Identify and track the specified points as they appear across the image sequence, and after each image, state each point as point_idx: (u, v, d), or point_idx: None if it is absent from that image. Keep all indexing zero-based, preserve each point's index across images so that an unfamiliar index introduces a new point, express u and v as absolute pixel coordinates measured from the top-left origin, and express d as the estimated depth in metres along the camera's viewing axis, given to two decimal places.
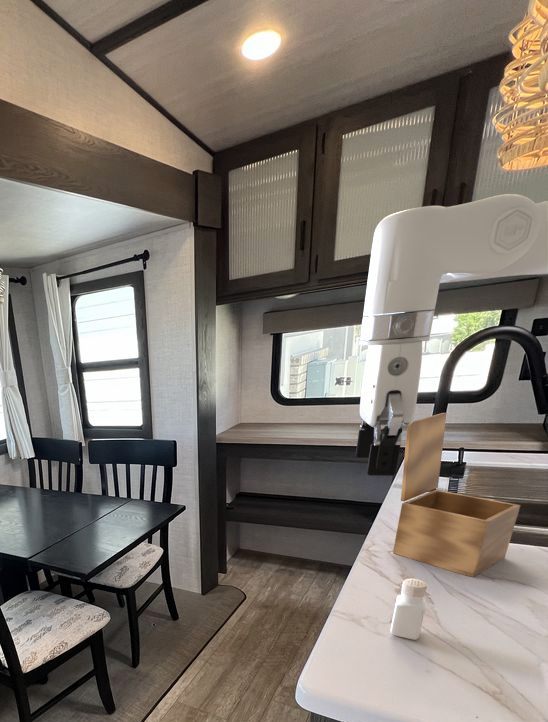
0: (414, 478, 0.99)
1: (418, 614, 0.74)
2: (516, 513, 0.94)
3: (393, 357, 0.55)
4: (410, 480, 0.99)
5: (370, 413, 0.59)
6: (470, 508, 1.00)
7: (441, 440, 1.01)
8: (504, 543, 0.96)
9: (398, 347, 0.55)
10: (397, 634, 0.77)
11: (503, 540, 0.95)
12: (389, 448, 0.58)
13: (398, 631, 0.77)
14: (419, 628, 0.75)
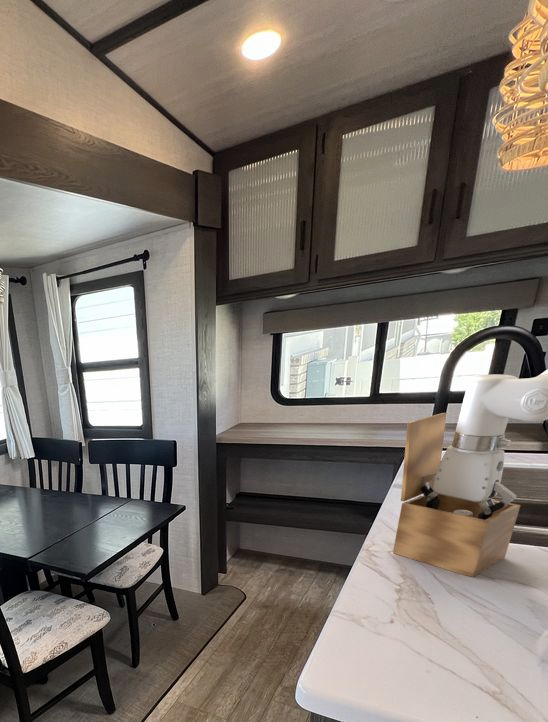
0: (414, 478, 0.99)
1: None
2: (516, 513, 0.94)
3: (498, 461, 0.89)
4: (410, 480, 0.99)
5: (482, 494, 0.91)
6: (470, 508, 1.00)
7: (441, 440, 1.01)
8: (504, 543, 0.96)
9: (499, 455, 0.89)
10: None
11: (503, 540, 0.95)
12: (491, 514, 0.93)
13: None
14: None
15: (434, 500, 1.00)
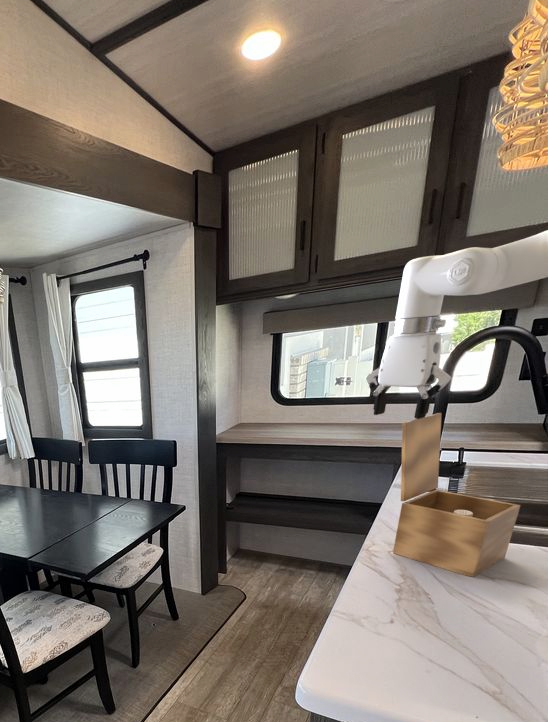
0: (413, 478, 1.00)
1: None
2: (516, 513, 0.94)
3: (435, 342, 0.92)
4: (409, 480, 0.99)
5: (421, 378, 0.94)
6: (470, 508, 1.00)
7: (438, 440, 1.02)
8: (504, 543, 0.96)
9: (435, 336, 0.92)
10: None
11: (503, 540, 0.95)
12: (429, 399, 0.96)
13: None
14: None
15: (381, 395, 1.03)
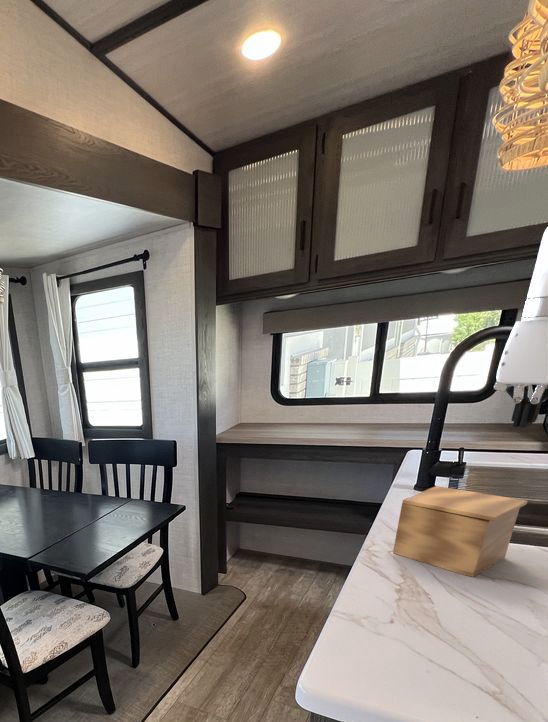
0: None
1: None
2: (516, 513, 0.94)
3: None
4: None
5: None
6: None
7: None
8: (504, 543, 0.96)
9: None
10: None
11: (503, 540, 0.95)
12: (539, 404, 0.79)
13: None
14: None
15: (525, 402, 0.80)
